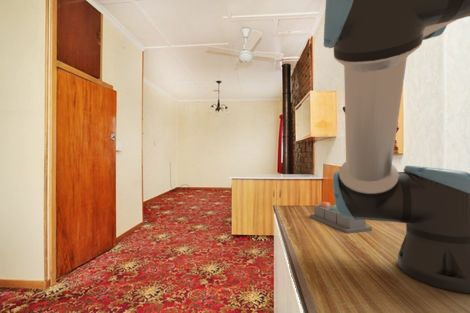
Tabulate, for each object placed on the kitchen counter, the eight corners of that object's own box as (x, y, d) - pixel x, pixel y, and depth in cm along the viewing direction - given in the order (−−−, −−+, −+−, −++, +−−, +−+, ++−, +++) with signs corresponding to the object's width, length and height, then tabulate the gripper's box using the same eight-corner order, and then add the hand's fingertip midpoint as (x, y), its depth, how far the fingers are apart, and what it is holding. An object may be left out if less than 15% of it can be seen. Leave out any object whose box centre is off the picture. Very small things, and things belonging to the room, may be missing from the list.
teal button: (345, 218, 87) (344, 206, 87) (336, 219, 86) (336, 207, 86) (338, 215, 91) (337, 204, 91) (329, 216, 90) (329, 205, 90)
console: (371, 230, 79) (371, 215, 79) (347, 233, 76) (347, 218, 76) (329, 214, 100) (329, 203, 100) (309, 217, 98) (309, 205, 98)
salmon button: (332, 213, 94) (332, 203, 94) (324, 214, 93) (324, 204, 93) (326, 211, 97) (326, 201, 97) (318, 212, 96) (318, 202, 96)
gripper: (386, 75, 68) (388, 153, 68) (353, 88, 81) (355, 154, 81) (366, 73, 67) (368, 154, 67) (335, 86, 79) (337, 154, 79)
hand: (361, 154), depth 74 cm, fingers closed
